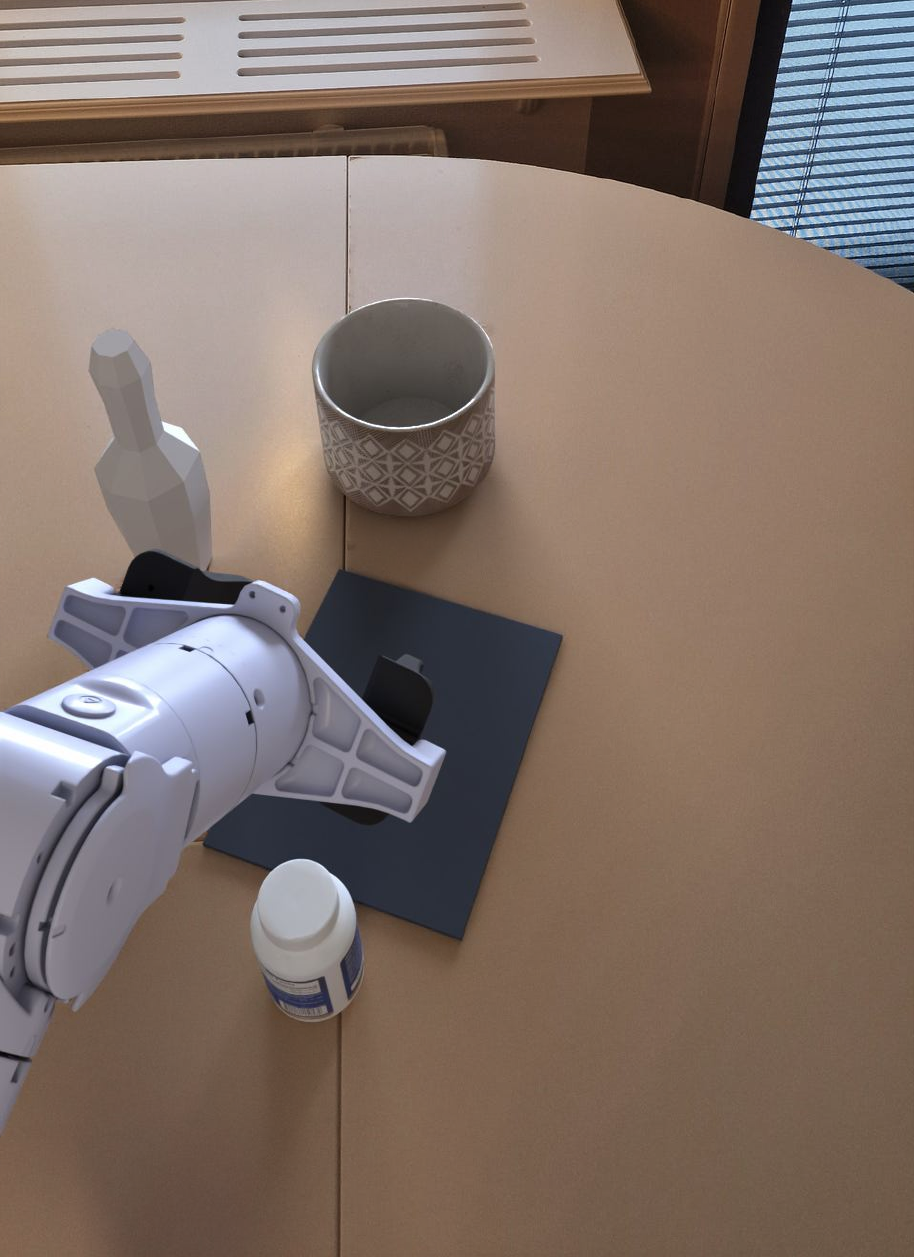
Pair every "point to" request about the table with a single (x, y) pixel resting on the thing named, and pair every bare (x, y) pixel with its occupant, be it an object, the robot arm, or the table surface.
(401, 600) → the mat
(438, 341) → the planter
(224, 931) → the table surface
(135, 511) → the faceted bottle
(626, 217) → the table surface
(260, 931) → the pill bottle
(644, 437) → the table surface
